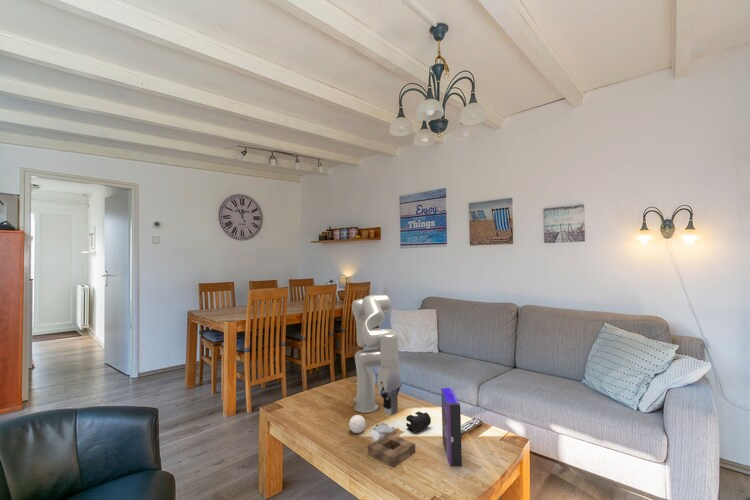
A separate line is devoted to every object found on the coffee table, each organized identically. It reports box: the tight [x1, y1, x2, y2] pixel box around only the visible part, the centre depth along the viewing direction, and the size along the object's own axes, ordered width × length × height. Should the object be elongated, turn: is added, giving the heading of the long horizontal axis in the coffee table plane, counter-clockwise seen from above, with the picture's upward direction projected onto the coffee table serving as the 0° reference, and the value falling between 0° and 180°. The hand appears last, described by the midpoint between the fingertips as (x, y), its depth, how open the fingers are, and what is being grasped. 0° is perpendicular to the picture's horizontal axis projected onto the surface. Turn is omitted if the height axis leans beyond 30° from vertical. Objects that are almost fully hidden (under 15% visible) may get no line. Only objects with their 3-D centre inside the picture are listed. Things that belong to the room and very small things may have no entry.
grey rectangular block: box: [383, 389, 399, 416], centre depth 152 cm, size 4×4×10 cm
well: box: [367, 432, 416, 468], centre depth 151 cm, size 14×14×4 cm
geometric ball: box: [348, 414, 366, 434], centre depth 170 cm, size 8×8×8 cm
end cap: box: [405, 411, 432, 434], centre depth 171 cm, size 10×7×7 cm
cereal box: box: [440, 387, 463, 467], centre depth 150 cm, size 17×5×24 cm, turn 178°
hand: (390, 405), depth 152 cm, fingers closed on grey rectangular block, 4 cm apart
